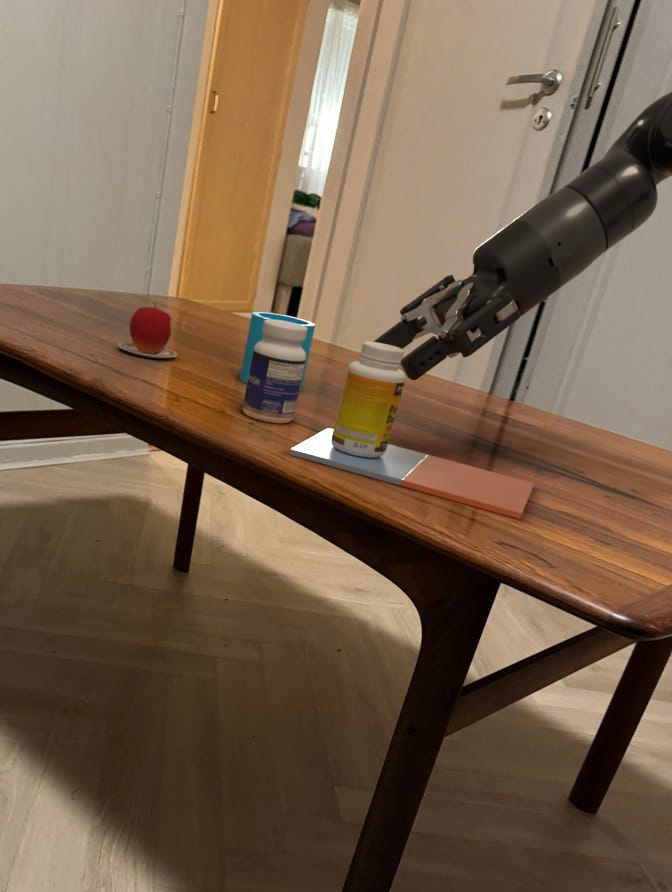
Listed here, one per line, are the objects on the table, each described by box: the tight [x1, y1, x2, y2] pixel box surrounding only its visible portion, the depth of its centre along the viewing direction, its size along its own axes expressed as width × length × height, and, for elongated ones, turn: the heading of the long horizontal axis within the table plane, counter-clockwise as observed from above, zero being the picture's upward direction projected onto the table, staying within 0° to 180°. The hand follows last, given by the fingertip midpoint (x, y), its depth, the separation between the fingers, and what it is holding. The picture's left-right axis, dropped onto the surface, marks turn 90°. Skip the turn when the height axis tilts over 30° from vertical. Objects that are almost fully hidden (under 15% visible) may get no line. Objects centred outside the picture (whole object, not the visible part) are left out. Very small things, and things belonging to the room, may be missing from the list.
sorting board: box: [289, 427, 535, 520], centre depth 89 cm, size 22×13×1 cm, turn 66°
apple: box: [117, 301, 178, 360], centre depth 121 cm, size 8×8×6 cm
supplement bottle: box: [331, 341, 406, 458], centre depth 88 cm, size 6×6×10 cm
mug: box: [239, 311, 316, 392], centre depth 117 cm, size 12×8×8 cm
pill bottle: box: [242, 319, 307, 424], centre depth 97 cm, size 6×6×10 cm
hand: (390, 362), depth 86 cm, fingers open, 8 cm apart
